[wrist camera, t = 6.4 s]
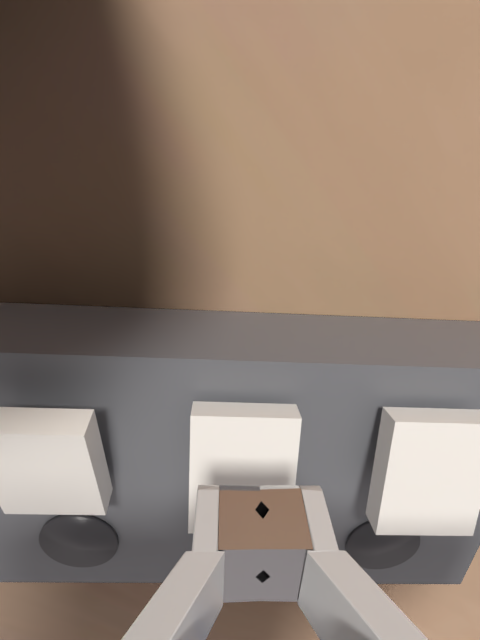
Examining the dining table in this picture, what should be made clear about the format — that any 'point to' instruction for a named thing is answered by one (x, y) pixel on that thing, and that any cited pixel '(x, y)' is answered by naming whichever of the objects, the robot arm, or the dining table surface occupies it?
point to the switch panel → (224, 386)
